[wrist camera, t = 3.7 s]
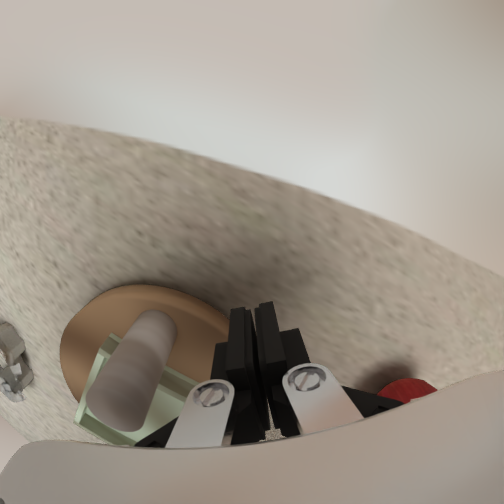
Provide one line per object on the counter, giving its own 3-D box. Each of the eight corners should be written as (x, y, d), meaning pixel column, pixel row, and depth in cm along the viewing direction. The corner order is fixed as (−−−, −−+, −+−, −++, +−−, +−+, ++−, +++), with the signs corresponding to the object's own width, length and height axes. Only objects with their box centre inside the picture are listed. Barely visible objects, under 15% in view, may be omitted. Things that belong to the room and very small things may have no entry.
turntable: (202, 454, 19) (193, 533, 11) (60, 378, 17) (12, 445, 9) (301, 355, 16) (334, 460, 8) (108, 240, 14) (11, 294, 6)
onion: (343, 412, 19) (372, 488, 12) (373, 357, 18) (422, 434, 10) (397, 410, 20) (433, 473, 12) (428, 359, 19) (480, 419, 11)
